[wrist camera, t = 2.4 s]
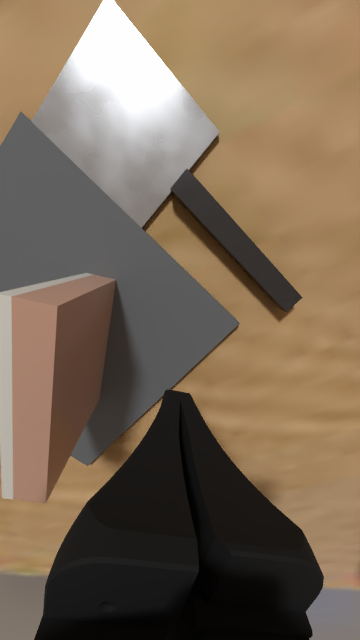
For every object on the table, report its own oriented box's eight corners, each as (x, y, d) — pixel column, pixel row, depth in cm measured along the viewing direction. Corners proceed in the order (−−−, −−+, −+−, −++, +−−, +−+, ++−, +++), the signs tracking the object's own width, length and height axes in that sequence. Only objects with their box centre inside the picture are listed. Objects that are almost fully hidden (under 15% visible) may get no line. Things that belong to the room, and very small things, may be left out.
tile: (116, 279, 14) (57, 306, 7) (99, 399, 17) (45, 503, 10) (86, 272, 14) (-5, 293, 7) (74, 395, 17) (2, 497, 10)
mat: (89, 460, 20) (87, 466, 19) (-107, 343, 16) (-116, 346, 15) (237, 321, 16) (239, 323, 15) (26, 117, 12) (20, 111, 11)
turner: (325, 266, 15) (336, 266, 14) (250, 333, 16) (256, 339, 15) (109, 1, 11) (102, -28, 9) (34, 124, 12) (21, 112, 11)
